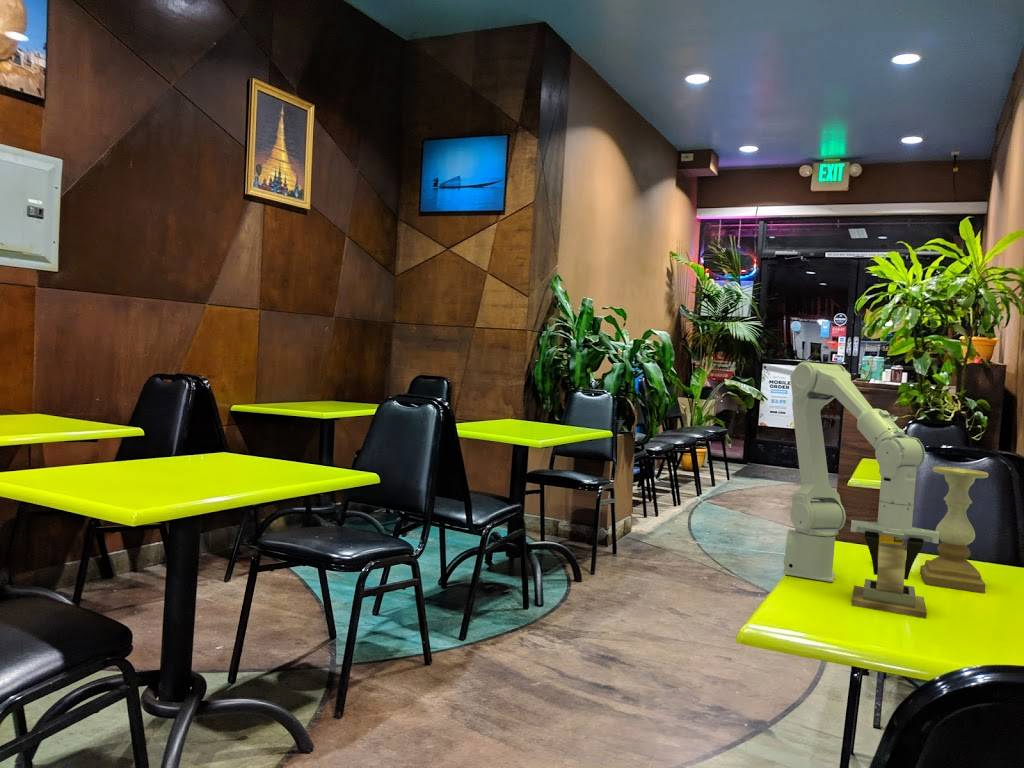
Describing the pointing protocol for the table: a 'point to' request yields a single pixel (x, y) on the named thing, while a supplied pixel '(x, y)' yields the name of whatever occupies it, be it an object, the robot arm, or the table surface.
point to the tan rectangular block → (891, 567)
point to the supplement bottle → (890, 540)
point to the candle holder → (955, 536)
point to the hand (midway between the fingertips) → (890, 576)
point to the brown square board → (917, 611)
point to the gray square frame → (889, 595)
